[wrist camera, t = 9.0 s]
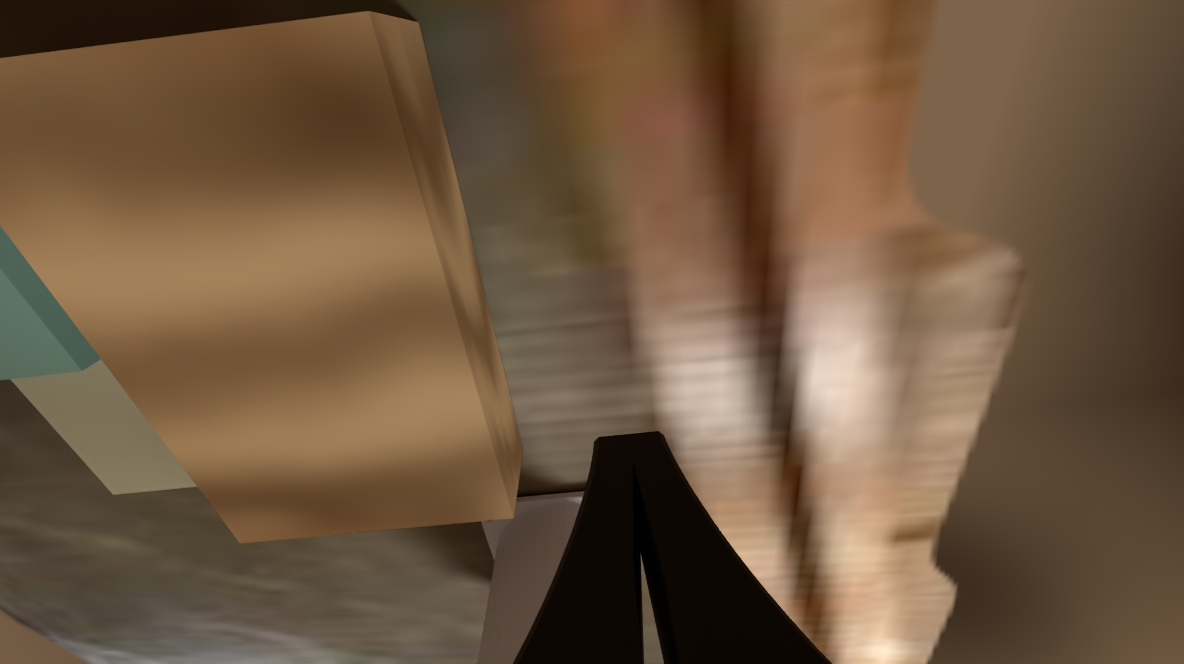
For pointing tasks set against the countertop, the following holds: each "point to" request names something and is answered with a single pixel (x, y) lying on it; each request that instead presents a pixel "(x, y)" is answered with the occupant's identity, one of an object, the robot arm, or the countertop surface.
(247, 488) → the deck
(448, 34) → the countertop surface
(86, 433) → the mat
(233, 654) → the countertop surface
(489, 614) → the robot arm
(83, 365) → the sage green box
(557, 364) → the countertop surface
